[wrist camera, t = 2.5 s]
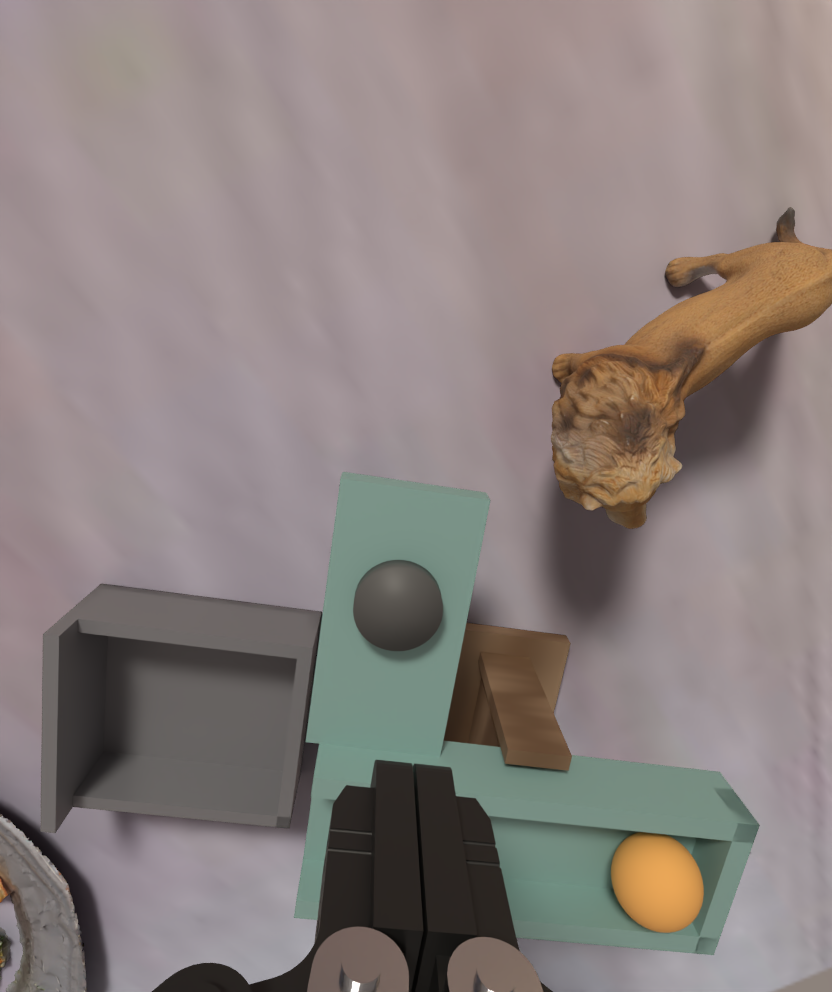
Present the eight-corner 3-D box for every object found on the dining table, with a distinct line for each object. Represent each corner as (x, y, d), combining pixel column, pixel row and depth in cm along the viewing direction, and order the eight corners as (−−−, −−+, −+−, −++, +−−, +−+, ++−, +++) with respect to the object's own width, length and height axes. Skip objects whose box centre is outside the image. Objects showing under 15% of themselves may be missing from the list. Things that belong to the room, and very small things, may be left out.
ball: (688, 815, 24) (732, 886, 21) (667, 882, 25) (706, 959, 22) (609, 807, 24) (642, 877, 21) (590, 874, 25) (619, 951, 22)
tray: (321, 611, 30) (308, 666, 25) (299, 775, 32) (283, 855, 27) (100, 583, 29) (43, 634, 24) (94, 753, 31) (40, 831, 26)
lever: (796, 537, 23) (851, 566, 20) (680, 891, 27) (713, 955, 24) (342, 471, 21) (336, 492, 19) (291, 853, 25) (280, 916, 23)
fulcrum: (565, 635, 30) (625, 738, 23) (524, 806, 33) (566, 951, 25) (445, 619, 30) (464, 719, 22) (412, 794, 32) (419, 939, 25)
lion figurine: (567, 500, 29) (644, 573, 20) (486, 421, 28) (530, 462, 19) (819, 256, 26) (1029, 219, 18) (741, 160, 25) (925, 70, 17)
